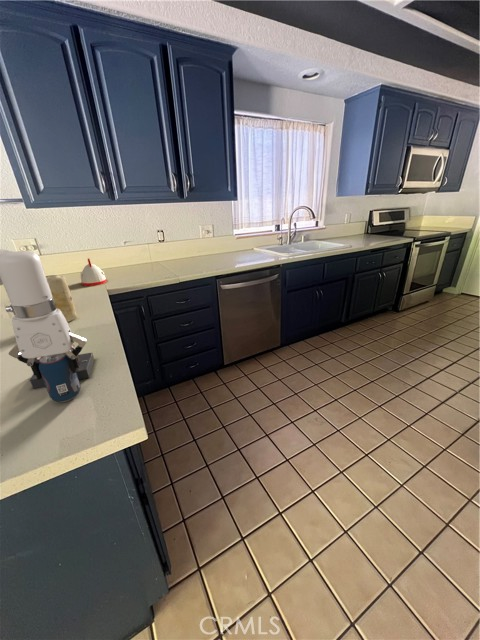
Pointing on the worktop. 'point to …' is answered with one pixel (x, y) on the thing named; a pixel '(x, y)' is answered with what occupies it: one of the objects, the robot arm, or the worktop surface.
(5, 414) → the worktop surface
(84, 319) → the worktop surface
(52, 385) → the soda can
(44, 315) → the robot arm
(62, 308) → the food model
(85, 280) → the kitchen timer
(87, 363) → the cooker panel
